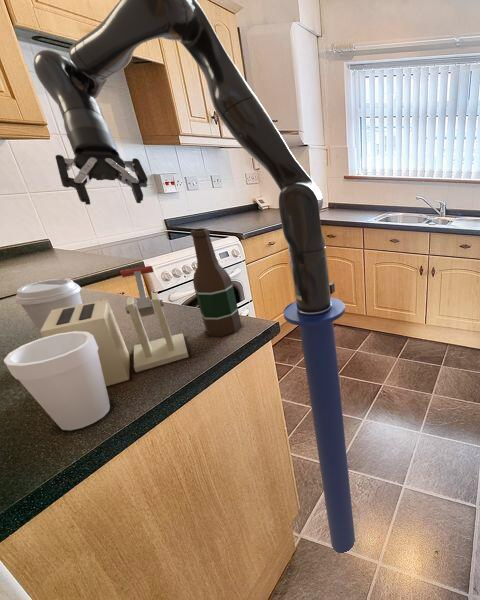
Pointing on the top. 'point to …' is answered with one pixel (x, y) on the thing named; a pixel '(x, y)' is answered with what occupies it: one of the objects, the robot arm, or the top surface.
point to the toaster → (94, 335)
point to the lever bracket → (158, 349)
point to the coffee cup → (47, 298)
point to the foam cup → (63, 377)
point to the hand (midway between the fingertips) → (114, 201)
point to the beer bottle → (213, 288)
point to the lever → (141, 289)
